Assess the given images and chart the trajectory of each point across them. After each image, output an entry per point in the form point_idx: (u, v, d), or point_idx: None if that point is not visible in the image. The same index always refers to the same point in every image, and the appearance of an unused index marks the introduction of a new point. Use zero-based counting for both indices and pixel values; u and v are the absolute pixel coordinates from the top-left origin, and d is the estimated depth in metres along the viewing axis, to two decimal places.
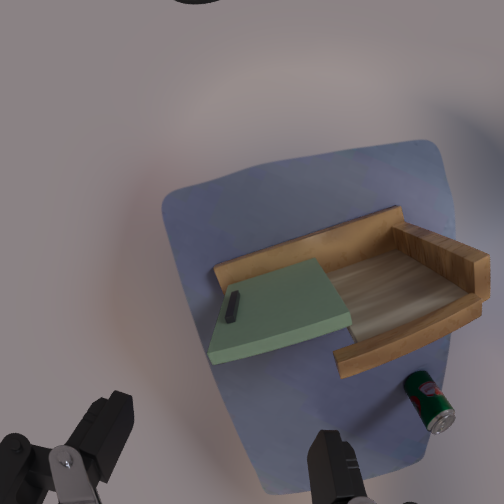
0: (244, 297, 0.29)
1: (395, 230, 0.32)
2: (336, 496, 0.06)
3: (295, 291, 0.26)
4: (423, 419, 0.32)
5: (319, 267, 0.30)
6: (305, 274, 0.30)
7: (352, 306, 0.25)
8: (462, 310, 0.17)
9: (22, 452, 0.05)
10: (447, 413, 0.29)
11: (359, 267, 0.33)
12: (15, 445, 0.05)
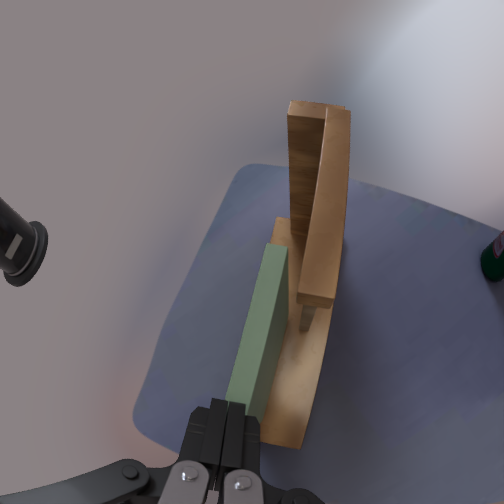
0: None
1: (293, 229, 0.32)
2: (220, 464, 0.08)
3: None
4: None
5: None
6: None
7: None
8: (325, 126, 0.16)
9: (139, 479, 0.06)
10: None
11: None
12: (129, 472, 0.06)
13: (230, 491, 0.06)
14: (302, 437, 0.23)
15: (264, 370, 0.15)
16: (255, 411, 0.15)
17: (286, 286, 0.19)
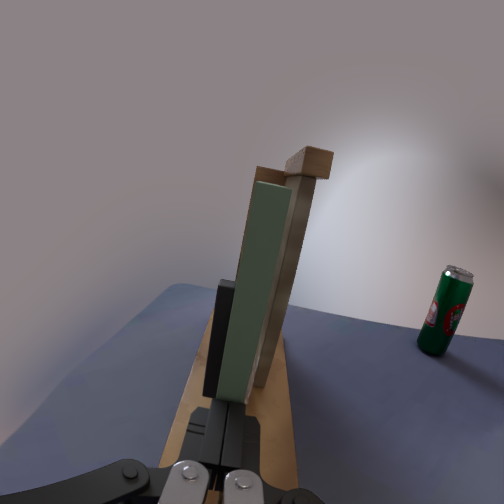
0: None
1: None
2: (221, 464, 0.08)
3: None
4: (462, 295, 0.29)
5: None
6: None
7: (280, 262, 0.20)
8: None
9: (139, 479, 0.06)
10: (446, 269, 0.31)
11: None
12: (129, 472, 0.06)
13: (230, 491, 0.06)
14: None
15: None
16: None
17: None
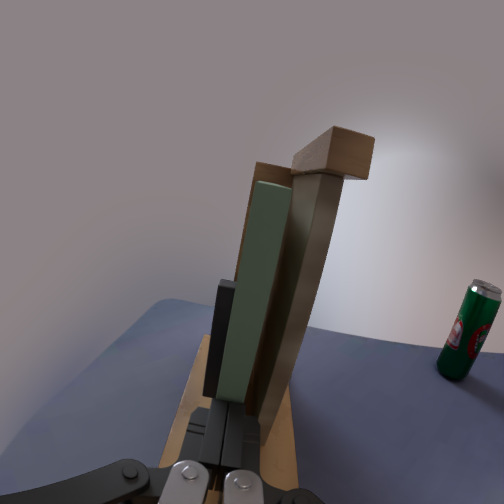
0: None
1: None
2: (221, 464, 0.08)
3: None
4: (490, 314, 0.23)
5: None
6: None
7: (288, 296, 0.14)
8: (298, 152, 0.19)
9: (139, 479, 0.06)
10: (473, 284, 0.26)
11: (256, 381, 0.19)
12: (129, 472, 0.06)
13: (230, 491, 0.06)
14: None
15: None
16: None
17: None
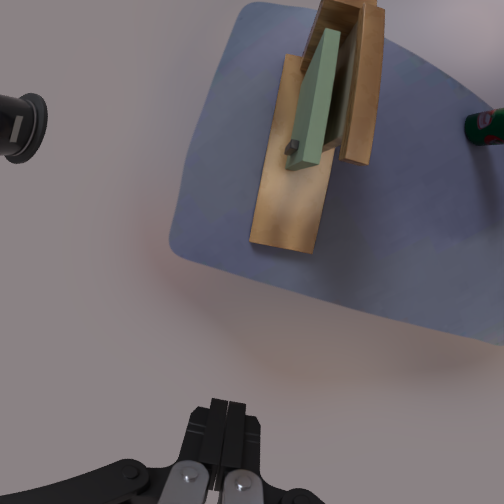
0: None
1: (303, 67, 0.29)
2: (220, 464, 0.08)
3: (306, 88, 0.23)
4: None
5: (305, 75, 0.26)
6: (303, 86, 0.26)
7: (330, 129, 0.23)
8: (364, 22, 0.13)
9: (139, 479, 0.06)
10: None
11: None
12: (129, 472, 0.06)
13: (230, 491, 0.06)
14: (313, 243, 0.35)
15: None
16: None
17: None
